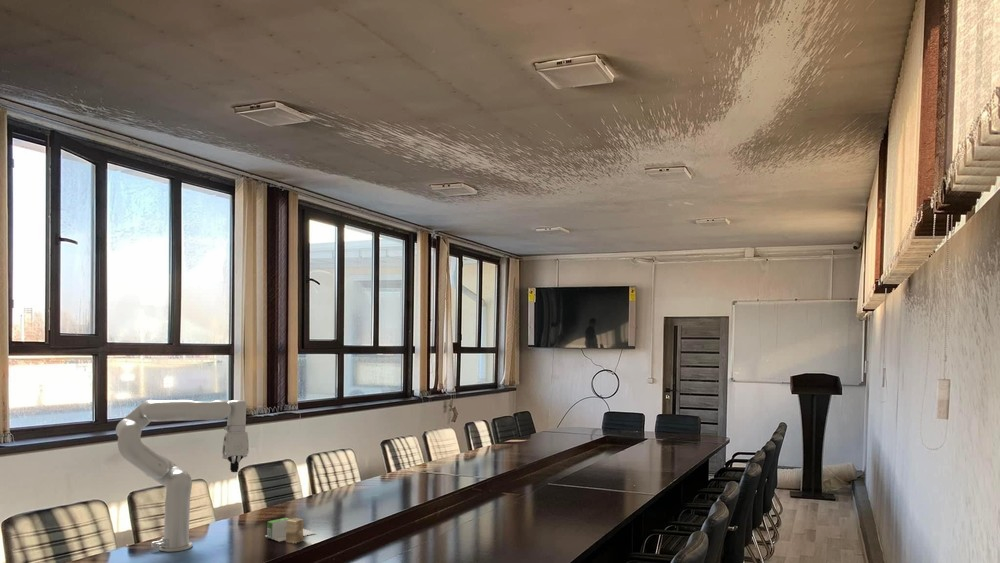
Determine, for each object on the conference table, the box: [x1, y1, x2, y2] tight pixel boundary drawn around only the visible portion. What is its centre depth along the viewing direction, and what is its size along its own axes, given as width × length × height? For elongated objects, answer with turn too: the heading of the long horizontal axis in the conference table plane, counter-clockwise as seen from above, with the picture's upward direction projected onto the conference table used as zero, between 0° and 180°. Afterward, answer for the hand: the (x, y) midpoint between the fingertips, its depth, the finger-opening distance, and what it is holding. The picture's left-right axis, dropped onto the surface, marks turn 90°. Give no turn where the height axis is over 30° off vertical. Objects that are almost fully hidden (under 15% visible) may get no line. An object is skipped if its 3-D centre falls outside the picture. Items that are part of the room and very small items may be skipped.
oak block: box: [285, 517, 304, 544], centre depth 320 cm, size 5×5×9 cm
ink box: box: [266, 517, 291, 540], centre depth 327 cm, size 7×4×13 cm
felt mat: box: [264, 528, 316, 543], centre depth 329 cm, size 18×12×1 cm, turn 135°
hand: (234, 471), depth 323 cm, fingers closed
